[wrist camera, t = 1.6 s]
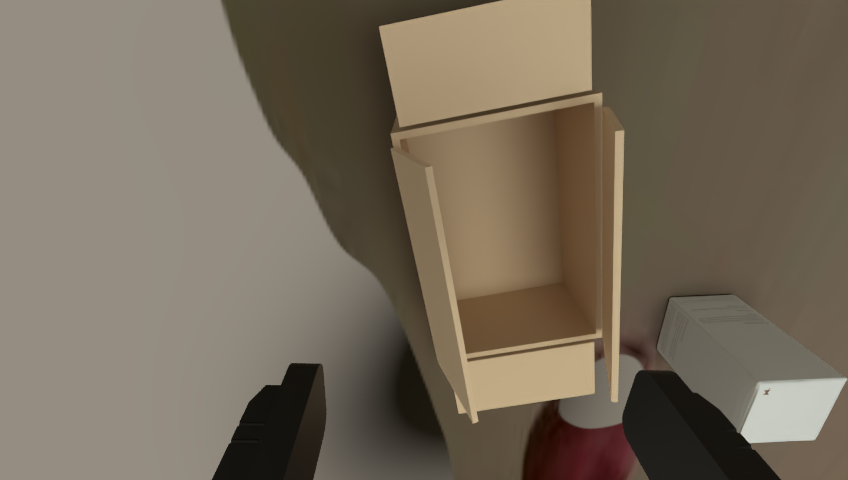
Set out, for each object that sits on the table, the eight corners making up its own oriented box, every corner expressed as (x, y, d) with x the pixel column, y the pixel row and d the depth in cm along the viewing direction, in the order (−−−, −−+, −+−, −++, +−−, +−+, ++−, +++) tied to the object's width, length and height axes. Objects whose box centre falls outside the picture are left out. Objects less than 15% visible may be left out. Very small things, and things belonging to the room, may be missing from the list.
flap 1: (432, 165, 20) (424, 167, 20) (478, 421, 28) (473, 423, 28) (396, 146, 26) (390, 148, 26) (442, 360, 34) (437, 362, 34)
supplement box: (653, 349, 46) (732, 446, 35) (668, 295, 43) (760, 381, 32) (717, 347, 46) (816, 443, 35) (736, 293, 43) (852, 378, 32)
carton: (553, -1, 31) (603, -22, 23) (568, 330, 45) (602, 392, 37) (379, 35, 32) (367, 28, 24) (445, 350, 46) (451, 414, 37)
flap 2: (611, 401, 27) (617, 402, 27) (615, 131, 20) (624, 130, 20) (602, 335, 33) (607, 335, 33) (602, 107, 26) (609, 106, 25)
